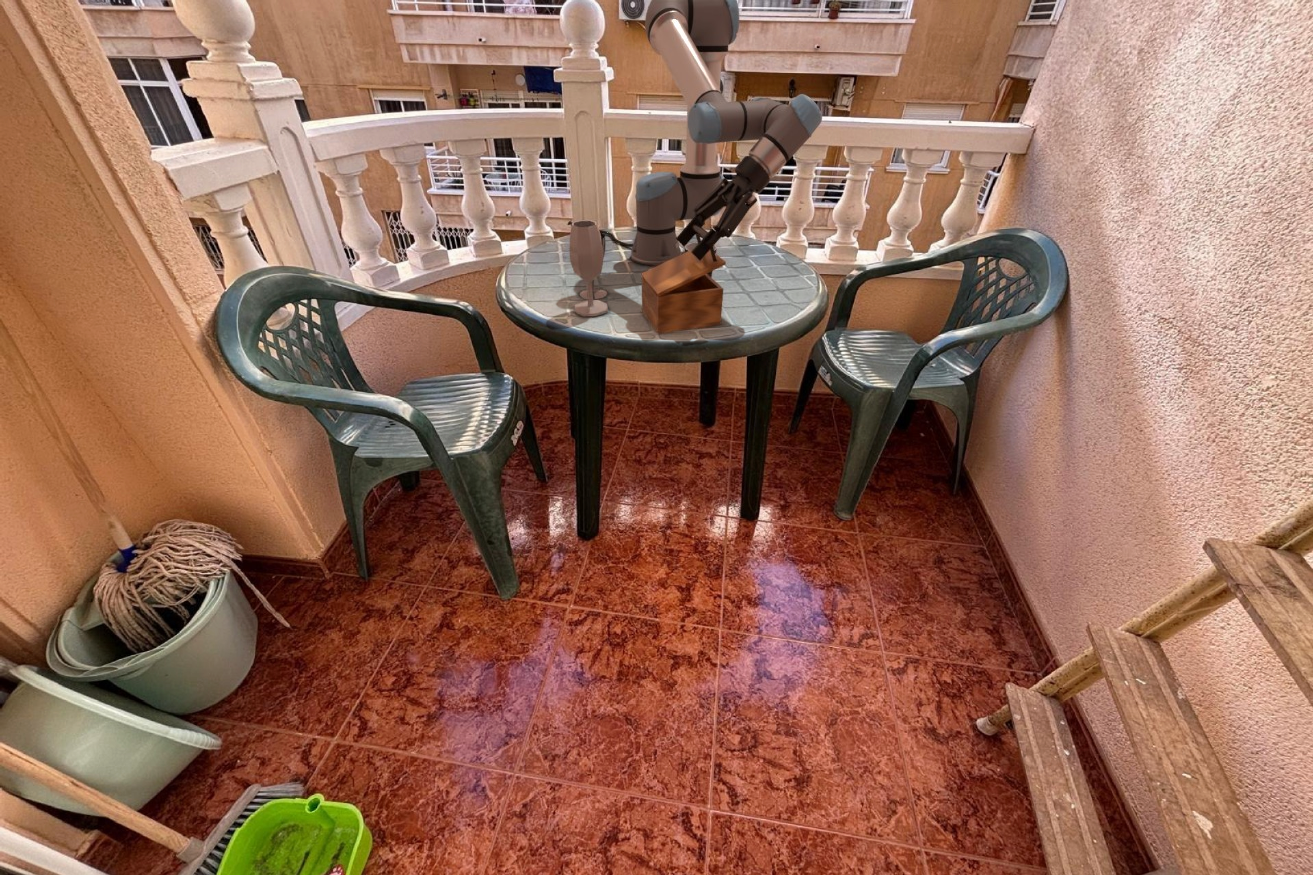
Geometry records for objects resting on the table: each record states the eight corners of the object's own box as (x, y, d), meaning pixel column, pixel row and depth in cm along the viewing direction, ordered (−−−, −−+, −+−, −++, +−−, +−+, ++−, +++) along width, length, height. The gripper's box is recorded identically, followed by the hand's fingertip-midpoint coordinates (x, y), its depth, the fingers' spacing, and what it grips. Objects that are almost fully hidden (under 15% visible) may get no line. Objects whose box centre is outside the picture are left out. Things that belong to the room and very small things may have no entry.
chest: (700, 303, 137) (702, 269, 131) (720, 324, 127) (723, 288, 122) (642, 311, 133) (641, 277, 127) (658, 333, 123) (658, 297, 118)
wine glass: (584, 302, 137) (579, 243, 128) (574, 291, 143) (568, 234, 134) (613, 296, 140) (610, 238, 131) (601, 286, 146) (597, 230, 137)
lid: (704, 246, 128) (696, 218, 123) (725, 264, 118) (718, 234, 114) (642, 276, 127) (631, 249, 123) (658, 296, 118) (648, 268, 113)
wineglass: (579, 320, 129) (571, 231, 116) (569, 306, 135) (560, 220, 122) (613, 314, 132) (608, 226, 119) (601, 300, 138) (596, 216, 125)
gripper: (793, 191, 108) (716, 276, 114) (746, 169, 125) (681, 245, 131) (774, 164, 104) (694, 254, 110) (727, 145, 120) (661, 225, 126)
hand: (687, 249), depth 120 cm, fingers closed on lid, 9 cm apart
